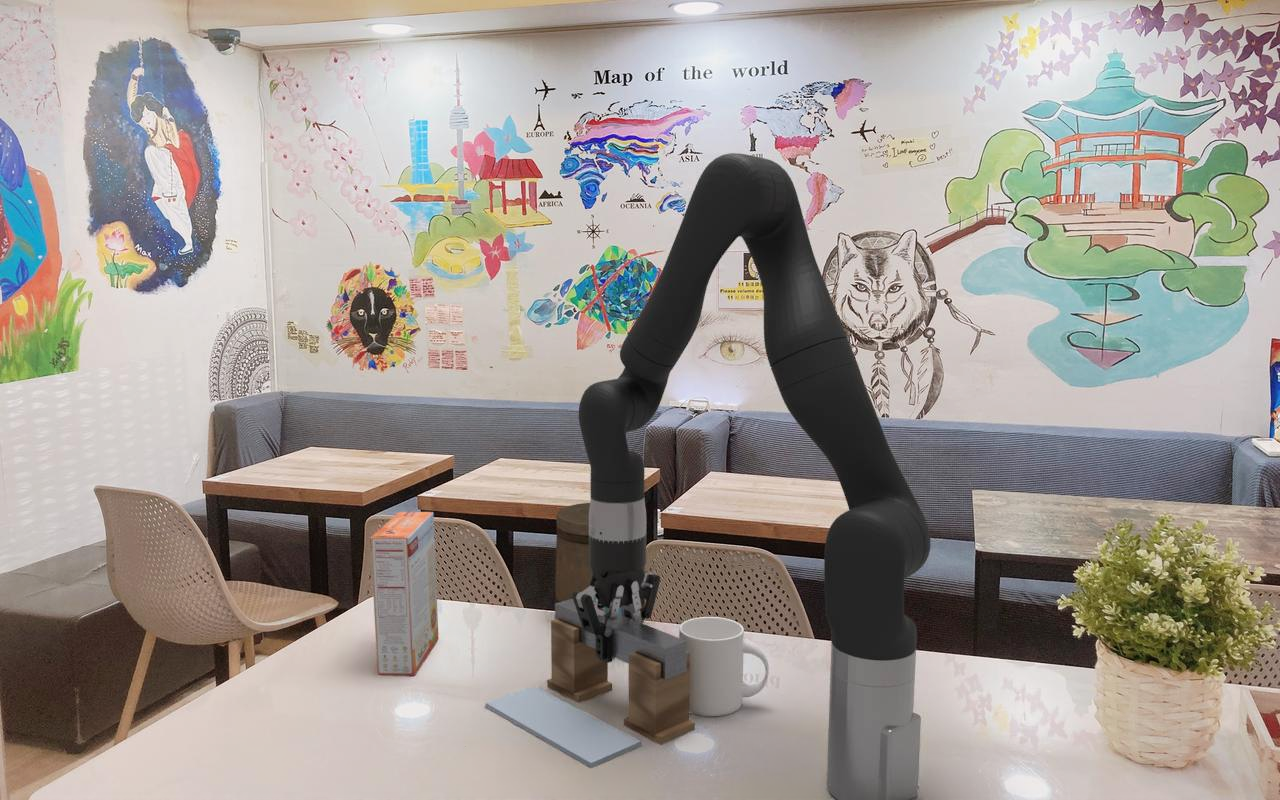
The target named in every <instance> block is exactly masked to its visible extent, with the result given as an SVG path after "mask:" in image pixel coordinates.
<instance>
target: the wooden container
mask: <svg viewBox="0 0 1280 800" xmlns="http://www.w3.org/2000/svg"><path fill="white" fill-rule="evenodd" d="M589 509H590V502H585V503H577V504H571V505H567V506H565V507H562V508H560V509H559V510H558V511H557V514H556V546H555V547H556V550H555V554H556V555H555V604H556V603H559V602H562V601H566V600H569V599H573V593H574V592H575V591H579V592H582V591H584V590H585V589H586V588H588V587H589V586H590V580H591V578H592V569H591V567H590V564H589ZM645 566H646V565H645ZM645 566H644V567H643V570H644V572H645V571H646V567H645ZM645 604H646V599H645V600H644V604H643V608H645ZM621 614H622V610H621ZM622 616H623V615H622ZM644 621H645V619H644V620H643V621H642V624H644Z"/></svg>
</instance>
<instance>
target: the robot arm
mask: <svg viewBox="0 0 1280 800" xmlns="http://www.w3.org/2000/svg"><path fill="white" fill-rule="evenodd" d="M698 178H699V179H698V180H697V182H696V184H695V187H694V190H693V191H692V194H691V196H690V199H689V202H688V204H687V207H686V210H685V213H684V215H683V218H682V220H681V223H680V226H679V229H678V231H677V234H676V235H675V237H674V238H675V239H674V242H673V243H672V246H671V248H670V251H669V253H668V256H667V258H666V261H665V264H664V265H663V268H662V270H661V273H660V275H659V277H658V279H657V281H656V283H655V286H654V288H653V290H652V292H651V294H650V296H649V297H648V299H647V301H646V302H645V304H644V306H643V308H642V309H641V311H640V313H639V315H638V316H637V318H636V320H635V321H634V323H633V324H632V326H631V328H630V329H629V331H628V333H627V335H626V337H625V338H624V341H623V342H622V344H621V347H620V350H619V358H620V362H621V364H622V365H623V366H624V368H623V369H622V372H621V374H620V375H619V376H618V378H614V379H609V380H608V379H607V380H602V381H597V382H594V383H592V384H591V385H589V386H588V387H586V389H585V391H584V392H583V394H582V396H581V399H580V402H579V405H578V406H579V407H578V422H579V428H580V432H581V435H582V440H583V444H584V447H585V448H584V449H585V453H586V456H587V459H588V462H589V466H590V477H589V478H590V500H589V503H590V509H589V564H590V567H591V569H592V578H591V580H590V586H589V587H588V588H586V589H585V590H584V591H582V592H579V591H575V592H574V593H573V600H574V603H575V606H576V609H577V613H578V616H579V619H580V622H581V625H582V628H583V630H585V631H587V632H590V633H592V634H594V635H595V636H596V656H597V657H598V658H599V660H601V661H603V662H605V663H608V664H609V663H612V662H613V659H614V658H613V657H612V635H611V633H612V629H613V623H614V620H615V619H616V618H617V616H618V611H619V608H621V610H622V615H623V616H625V617H627V618H630V619H632V620H635V621H637V622H640V623H642V621H643V620H644V621H645V619H646V620H649V619H650V618H651V617H652V614H653V611H654V606H655V603H656V598H657V594H658V592H659V588H660V587H659V586H660V582H661V576H660V575H659V574H656V573H652V572H650V571H646V570H645V572H644V570H643V567H644V566H646V564H647V507H646V502H645V499H646V498H645V463H644V460H643V457H642V456H641V455H640V454H639V453H638V452H635V451H632V450H629V444H628V440H627V433H629V432H634V431H637V430H639V429H641V428H643V427H644V426H645V425H647V424H648V423H649V422H650V421H651V419H652V418H654V416H655V414H656V412H657V410H658V409H659V407H660V406H661V403H662V399H663V396H664V393H665V391H666V387H667V385H668V381H669V376H670V373H671V371H672V370H673V369H674V367H675V365H676V364H677V363H678V361H679V360H680V358H681V356H682V354H683V353H684V351H685V349H686V348H687V347H688V345H689V343H690V341H691V340H692V338H693V335H694V334H695V332H696V329H697V327H698V325H699V322H700V319H701V317H702V316H701V315H702V311H703V307H704V301H705V298H706V297H705V296H706V292H707V288H708V285H709V282H710V279H711V277H712V274H713V272H714V270H715V269H716V267H717V265H718V263H719V262H720V260H721V259H722V257H723V256H724V255H725V253H726V252H727V251H728V249H729V248H730V247H731V245H732V244H733V243H734V242H735V241H736V240H737V239H738V238H739V237H740V238H741V239H742V240H743V242H744V243H745V245H746V248H747V250H748V252H749V254H750V256H751V258H752V261H753V264H754V266H755V269H756V271H757V273H758V277H759V280H760V284H761V288H762V295H763V296H762V297H763V338H764V339H763V342H764V348H765V353H766V358H767V360H768V363H769V367H770V370H771V372H772V374H773V377H774V380H775V382H776V385H777V388H778V391H779V394H780V397H781V398H782V400H783V403H784V405H785V406H786V408H787V411H788V412H789V413H790V414H791V416H792V417H793V419H794V420H795V422H796V423H797V424H798V425H799V426H800V428H801V429H802V430H803V431H804V433H806V435H807V436H808V437H809V438H810V439H811V441H813V443H814V444H815V445H816V446H817V447H818V449H820V451H821V452H822V453H823V455H824V456H825V457H826V459H827V460H828V462H829V463H830V466H831V467H832V469H833V470H834V472H835V474H836V476H837V479H838V481H839V484H840V486H841V489H842V493H843V494H844V498H845V500H846V504H847V506H848V510H847V511H845V512H843V513H842V514H840V515H839V516H837V517H836V518H835V519H834V521H833V522H832V523H831V525H830V527H829V529H828V531H827V536H826V538H825V546H824V556H823V557H824V562H823V565H824V566H823V567H824V573H823V574H824V577H823V578H824V609H825V616H826V619H827V622H828V624H829V626H830V633H831V636H830V641H831V643H830V675H829V698H828V699H829V700H828V701H829V703H828V727H827V728H828V731H827V732H828V733H827V736H828V737H827V764H826V765H827V769H826V770H827V771H826V786H827V790H828V791H829V794H831V795H832V796H833V797H834V798H835V799H837V800H912V799H913V798H915V797H917V796H918V794H919V792H918V791H919V775H920V774H919V771H920V770H919V769H920V753H921V752H920V751H921V750H920V749H921V729H922V728H921V725H922V724H921V723H922V717H921V715H920V714H918V713H916V712H914V703H915V681H916V665H917V664H916V663H917V661H916V660H917V637H918V634H917V633H918V631H917V630H918V629H917V626H916V624H915V621H913V619H911V617H909V616H908V615H906V614H905V580H906V579H907V578H909V577H911V576H913V574H915V573H917V572H919V570H920V569H921V568H923V566H925V563H926V562H927V560H928V558H929V555H930V551H931V534H930V529H929V526H928V522H927V520H926V518H925V516H924V514H923V511H922V509H921V507H920V505H919V503H918V502H917V499H916V497H915V496H914V494H913V492H912V489H911V488H910V486H909V483H908V481H906V478H905V476H904V475H903V472H902V471H901V468H900V467H899V465H898V461H897V460H896V458H895V456H894V455H893V454H894V453H893V452H892V449H891V448H890V445H889V443H888V440H887V439H886V438H887V437H886V436H885V433H884V429H883V427H882V425H881V422H880V419H879V416H878V414H877V411H876V409H875V406H874V405H873V402H872V400H871V396H870V395H869V391H868V389H867V387H866V383H865V382H864V378H863V375H862V372H861V369H860V367H859V364H858V362H857V359H856V356H855V353H854V350H853V349H852V346H851V343H850V341H849V338H848V336H847V333H846V331H845V329H844V327H843V324H842V322H841V319H840V317H839V315H838V312H837V309H836V308H835V305H834V301H833V300H832V299H833V298H832V297H831V295H830V291H829V289H828V286H827V284H826V282H825V280H824V278H823V275H822V273H821V271H820V268H819V265H818V263H817V260H816V257H815V255H814V251H813V247H812V244H811V241H810V238H809V234H808V230H807V226H806V223H805V219H804V214H803V211H802V208H801V207H802V206H801V204H800V199H799V197H798V194H797V193H798V192H797V190H796V188H795V185H794V182H793V180H792V178H791V177H790V175H789V173H788V172H787V171H786V170H785V169H784V167H782V166H781V165H780V164H779V163H777V162H775V161H773V160H771V159H768V158H764V157H760V156H759V157H758V156H754V155H749V154H745V153H739V152H738V153H736V152H735V153H732V152H731V153H730V152H729V153H725V154H721V155H720V156H718V157H716V158H714V159H713V160H712V161H710V162H709V163H708V164H707V166H706V167H705V168H704V169H703V171H702V172H701V174H700V177H698ZM595 596H596V600H594V597H595ZM644 600H645V608H643V604H644ZM604 607H607V608H609V610H606V609H605V608H604ZM604 618H605V622H604V625H603V620H604ZM644 621H643V622H644ZM642 624H643V623H642Z"/></svg>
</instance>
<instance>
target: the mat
mask: <svg viewBox="0 0 1280 800" xmlns="http://www.w3.org/2000/svg"><path fill="white" fill-rule="evenodd" d="M485 708H487V709H489V710H490V711H492V712H494V713H496V714H497V715H499V716H501V717H503V718H504V719H506V720H508V721H509V722H511V723H512V724H514V725H516V726H518V727H520V728H521V729H523V730H524V731H527V733H530V734H531V735H533V736H535V737H537V738H538V739H541V740H542V741H544V742H545V743H548V744H549V745H550V746H553V747H554V748H556V749H558V750H559V751H562V752H563V753H564V754H567V755H568V756H570V757H572V758H574V760H577V761H578V762H581V763H582V764H583V765H586V766H587V767H589V768H594V767H597V766H598V765H601V764H603V763H605V762H607V761H610V760H612V759H614V758H617V757H619V756H621V755H623V754H626V753H628V752H631V751H633V750H635V749H637V748H640V747H641V746H642V741H640V739H637V738H635V737H633V736H632V735H629V734H627V733H626V732H624V731H622V730H620V729H619V728H616V727H614V726H613V725H610V724H608V723H607V722H604V721H603V720H601V719H599V718H597V717H595V716H593V715H591V714H589V713H587V712H585V711H583V710H581V709H579V708H578V707H576V706H574V705H572V704H570V703H568V702H565V700H562V699H560V698H558V697H556V696H554V695H552V694H551V693H549V692H547V691H546V690H545V691H544V690H542V689H541V688H539V687H537V686H535V685H532V686H529V687H526V688H524V689H521V690H518V691H516V692H515V691H514V692H512V693H510V694H507V695H504V696H501V697H498V698H495V699H492V700H490V701H486V702H485Z"/></svg>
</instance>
